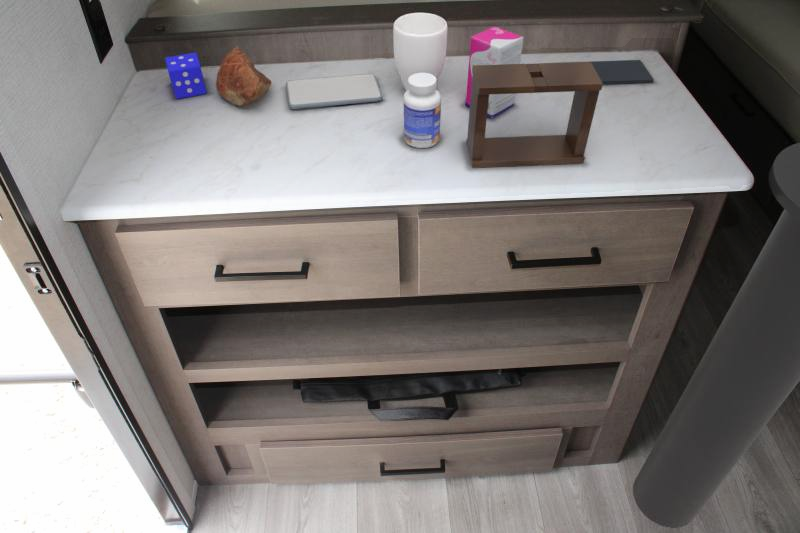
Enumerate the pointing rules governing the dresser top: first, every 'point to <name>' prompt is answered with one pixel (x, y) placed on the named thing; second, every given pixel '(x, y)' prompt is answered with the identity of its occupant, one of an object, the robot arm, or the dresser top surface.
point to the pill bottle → (422, 111)
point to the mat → (622, 72)
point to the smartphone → (333, 91)
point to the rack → (532, 81)
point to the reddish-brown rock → (240, 79)
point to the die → (186, 75)
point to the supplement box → (494, 62)
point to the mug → (419, 45)
